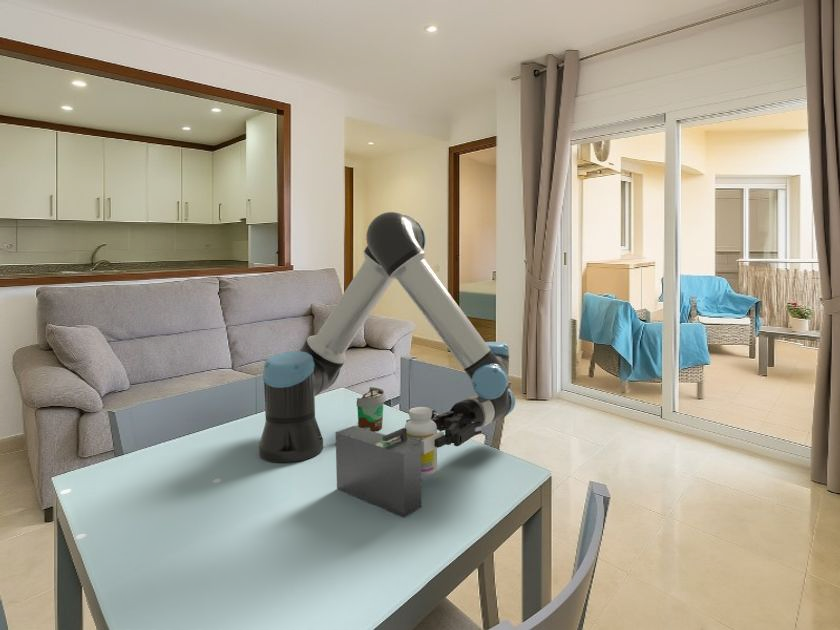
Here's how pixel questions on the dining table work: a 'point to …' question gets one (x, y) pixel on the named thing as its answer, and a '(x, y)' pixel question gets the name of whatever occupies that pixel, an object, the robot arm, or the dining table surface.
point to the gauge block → (379, 470)
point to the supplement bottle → (422, 436)
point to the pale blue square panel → (396, 435)
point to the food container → (371, 409)
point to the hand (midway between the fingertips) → (408, 443)
